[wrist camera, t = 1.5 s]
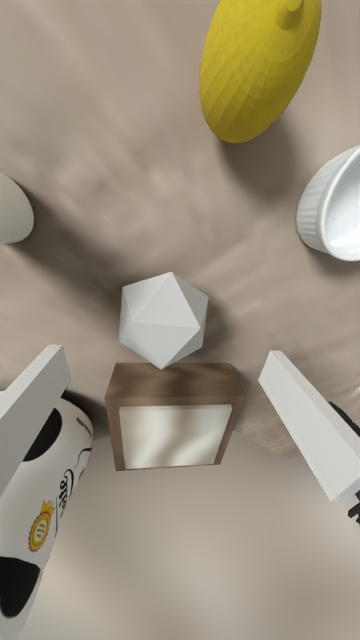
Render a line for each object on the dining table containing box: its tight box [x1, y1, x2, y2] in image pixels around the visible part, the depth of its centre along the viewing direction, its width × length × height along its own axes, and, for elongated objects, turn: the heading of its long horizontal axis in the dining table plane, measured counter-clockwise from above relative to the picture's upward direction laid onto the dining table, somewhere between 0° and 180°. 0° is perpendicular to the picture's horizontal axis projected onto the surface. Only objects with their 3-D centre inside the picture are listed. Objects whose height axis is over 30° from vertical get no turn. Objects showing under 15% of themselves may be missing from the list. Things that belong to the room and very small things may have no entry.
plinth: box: [105, 363, 246, 471], centre depth 26 cm, size 16×16×6 cm
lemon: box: [199, 0, 321, 143], centre depth 10 cm, size 6×6×8 cm
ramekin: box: [296, 144, 360, 261], centre depth 16 cm, size 9×9×4 cm
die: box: [118, 272, 209, 370], centre depth 17 cm, size 8×9×10 cm
